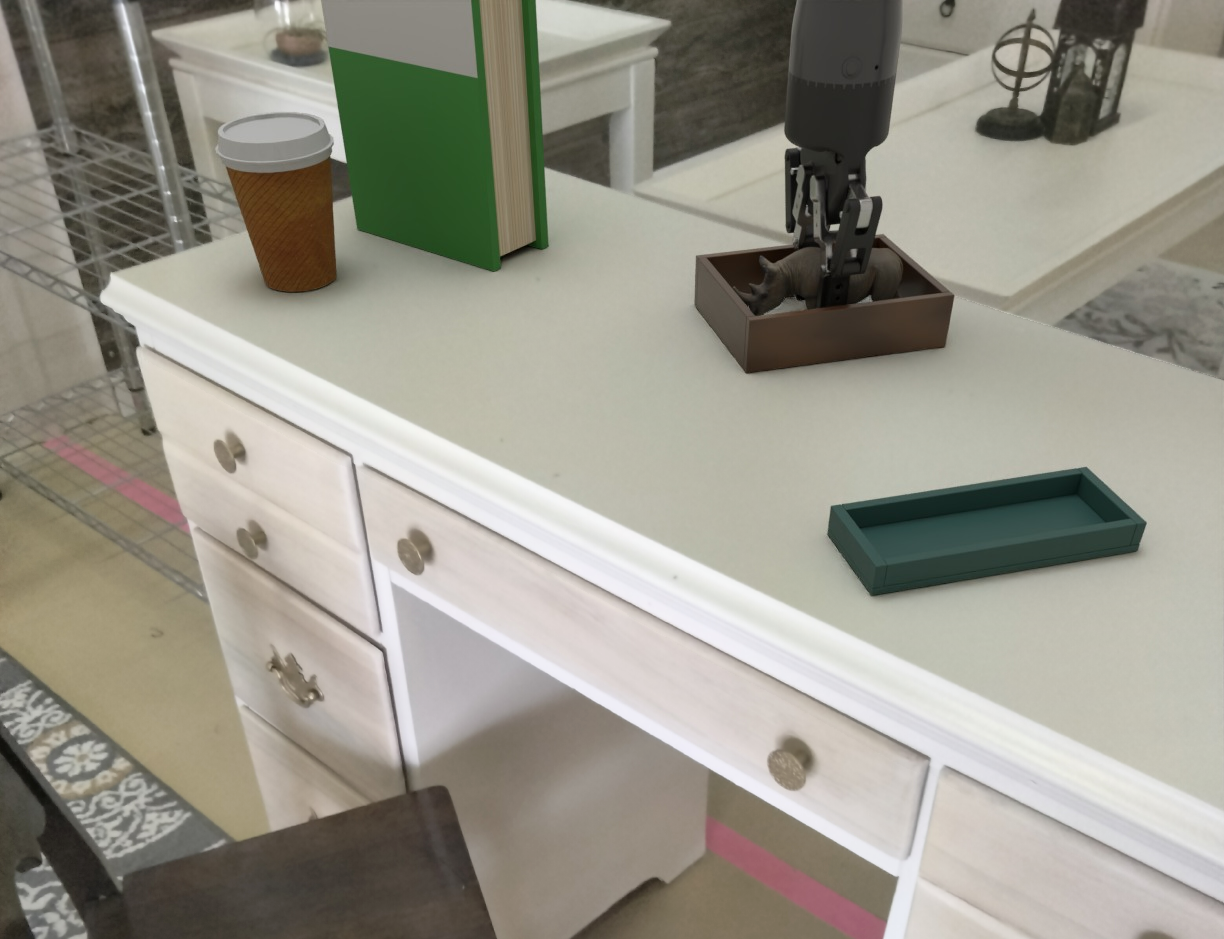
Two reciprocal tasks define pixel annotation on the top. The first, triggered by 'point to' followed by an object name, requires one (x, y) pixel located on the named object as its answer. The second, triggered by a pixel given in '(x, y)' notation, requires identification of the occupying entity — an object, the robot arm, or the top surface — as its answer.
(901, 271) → the rhino figurine
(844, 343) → the open box
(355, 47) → the hardback book
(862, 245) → the robot arm
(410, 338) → the top surface
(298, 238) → the disposable coffee cup
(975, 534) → the tray
